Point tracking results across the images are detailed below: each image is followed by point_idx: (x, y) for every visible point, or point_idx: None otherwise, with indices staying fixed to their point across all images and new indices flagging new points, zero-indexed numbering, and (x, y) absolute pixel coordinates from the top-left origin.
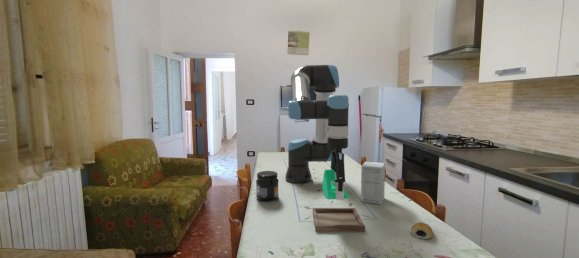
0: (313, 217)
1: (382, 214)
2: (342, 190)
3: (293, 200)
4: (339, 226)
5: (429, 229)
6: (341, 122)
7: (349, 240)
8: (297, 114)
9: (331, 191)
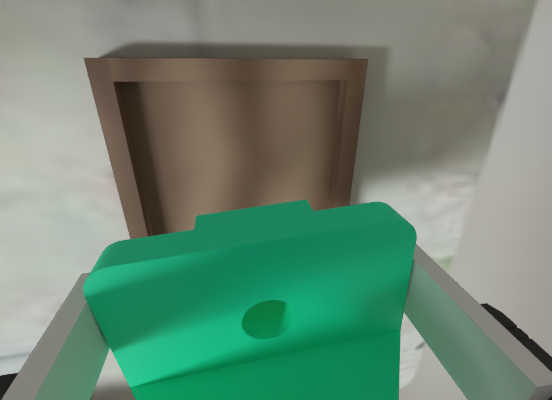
0: None
1: None
2: (498, 312)
3: (8, 367)
4: (349, 187)
5: None
6: None
7: (414, 147)
8: None
9: (398, 357)
